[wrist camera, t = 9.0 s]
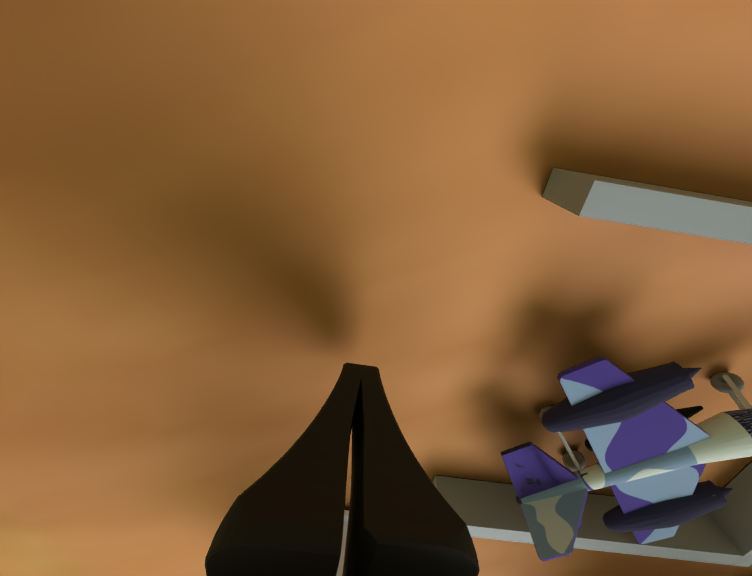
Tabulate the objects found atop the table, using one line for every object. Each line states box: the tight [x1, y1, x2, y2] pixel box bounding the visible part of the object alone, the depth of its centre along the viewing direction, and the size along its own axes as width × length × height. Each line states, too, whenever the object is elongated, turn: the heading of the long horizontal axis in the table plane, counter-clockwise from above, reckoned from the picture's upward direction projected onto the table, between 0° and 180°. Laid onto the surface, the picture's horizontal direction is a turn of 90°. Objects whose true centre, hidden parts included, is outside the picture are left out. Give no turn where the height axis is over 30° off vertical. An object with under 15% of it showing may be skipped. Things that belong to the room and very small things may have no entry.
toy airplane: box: [501, 356, 752, 561], centre depth 15 cm, size 13×14×4 cm
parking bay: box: [433, 168, 752, 567], centre depth 15 cm, size 18×18×2 cm
